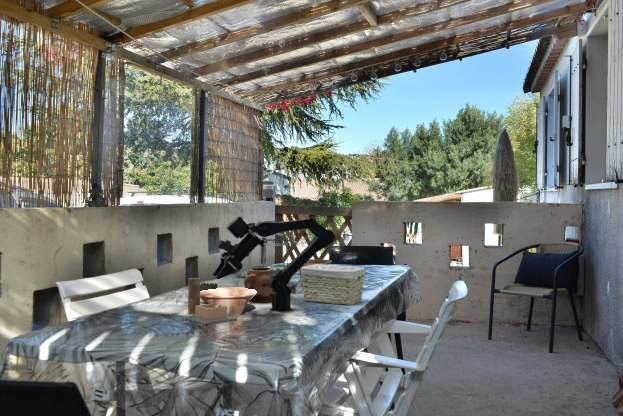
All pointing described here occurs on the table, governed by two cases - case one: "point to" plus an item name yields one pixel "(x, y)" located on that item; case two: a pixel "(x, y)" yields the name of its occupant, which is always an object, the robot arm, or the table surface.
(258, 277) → the decorative planter
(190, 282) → the walnut wood block
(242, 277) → the architectural model
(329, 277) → the storage basket
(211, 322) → the square socket holder
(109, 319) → the table surface
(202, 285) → the dark bronze rounded piece
